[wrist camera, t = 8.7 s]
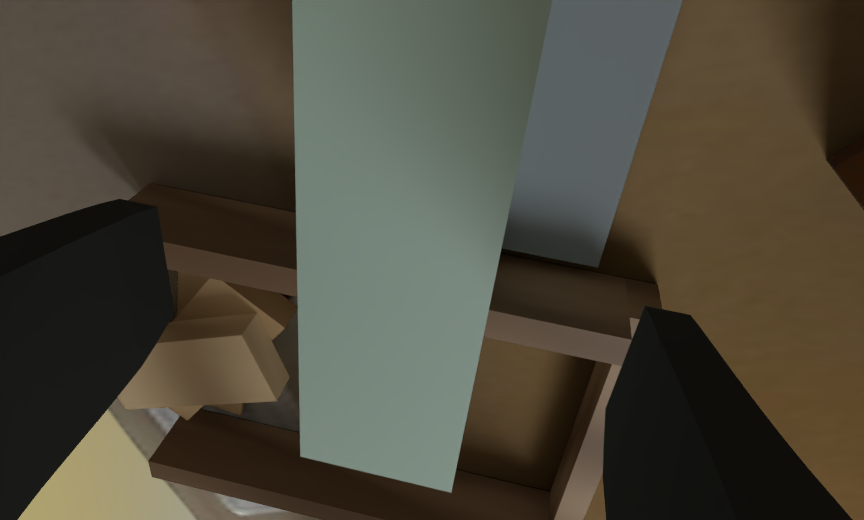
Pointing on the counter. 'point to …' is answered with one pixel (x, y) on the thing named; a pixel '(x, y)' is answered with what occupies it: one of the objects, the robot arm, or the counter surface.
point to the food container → (851, 168)
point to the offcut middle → (236, 312)
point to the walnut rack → (360, 491)
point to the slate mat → (585, 123)
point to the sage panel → (402, 217)
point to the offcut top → (209, 365)
